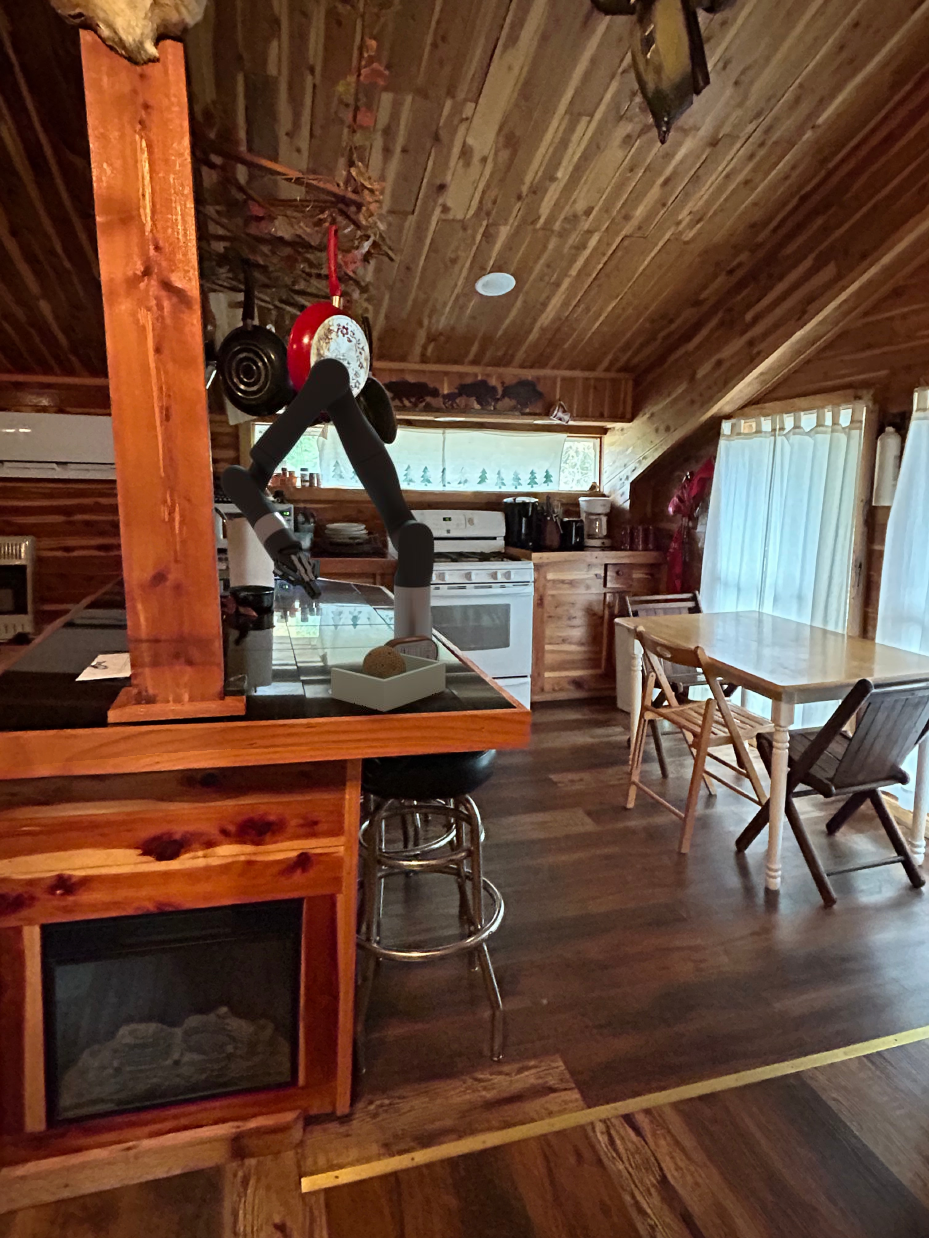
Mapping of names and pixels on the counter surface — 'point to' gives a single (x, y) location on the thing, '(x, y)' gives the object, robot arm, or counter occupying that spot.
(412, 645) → the tin
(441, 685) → the box
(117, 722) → the counter surface
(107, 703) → the counter surface
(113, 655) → the counter surface
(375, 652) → the natural sponge
